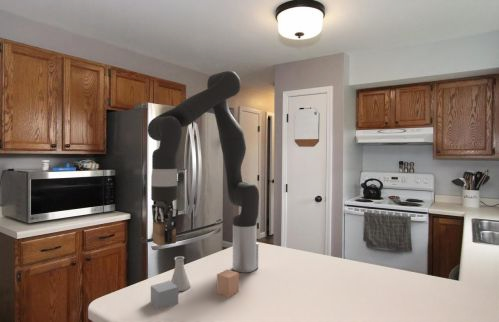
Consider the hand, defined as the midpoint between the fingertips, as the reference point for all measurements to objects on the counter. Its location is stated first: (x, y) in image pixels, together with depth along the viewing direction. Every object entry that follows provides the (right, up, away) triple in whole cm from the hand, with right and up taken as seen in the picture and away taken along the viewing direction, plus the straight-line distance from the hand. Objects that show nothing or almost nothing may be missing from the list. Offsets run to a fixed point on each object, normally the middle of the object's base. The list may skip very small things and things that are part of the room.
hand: (164, 241), depth 92 cm
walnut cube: (0, 0, 0) cm, 0 cm away
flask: (+2, -19, +11) cm, 22 cm away
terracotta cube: (+18, -18, +8) cm, 27 cm away
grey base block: (0, -19, 0) cm, 19 cm away
